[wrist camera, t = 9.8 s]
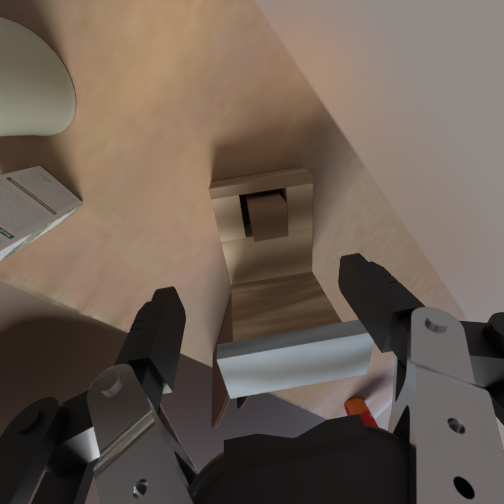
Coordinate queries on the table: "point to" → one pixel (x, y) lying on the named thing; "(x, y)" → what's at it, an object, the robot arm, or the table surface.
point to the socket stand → (280, 296)
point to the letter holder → (218, 385)
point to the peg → (267, 215)
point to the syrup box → (31, 207)
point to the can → (32, 85)
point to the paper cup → (359, 410)
